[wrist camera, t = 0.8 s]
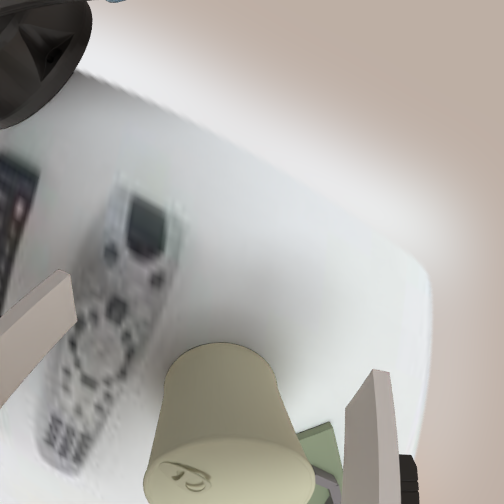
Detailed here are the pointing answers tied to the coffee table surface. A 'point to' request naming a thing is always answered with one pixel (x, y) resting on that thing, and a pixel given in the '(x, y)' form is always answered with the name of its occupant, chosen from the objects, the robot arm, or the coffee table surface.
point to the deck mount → (323, 463)
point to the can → (225, 434)
